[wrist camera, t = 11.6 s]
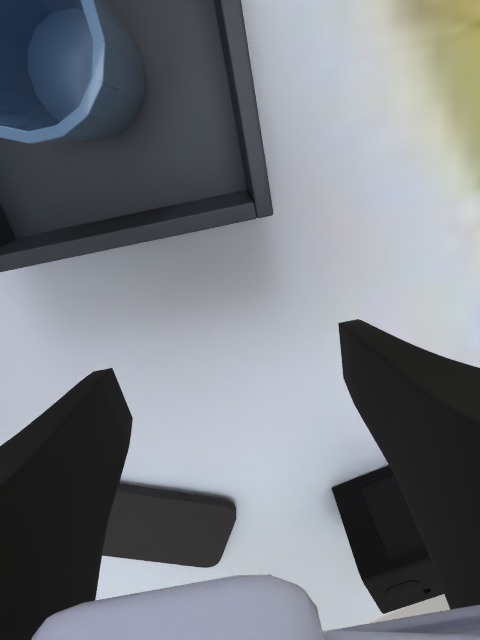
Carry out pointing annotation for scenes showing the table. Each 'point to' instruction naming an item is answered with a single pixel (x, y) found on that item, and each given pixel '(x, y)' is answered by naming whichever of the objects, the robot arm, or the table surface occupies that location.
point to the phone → (168, 527)
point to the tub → (148, 147)
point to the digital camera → (386, 541)
